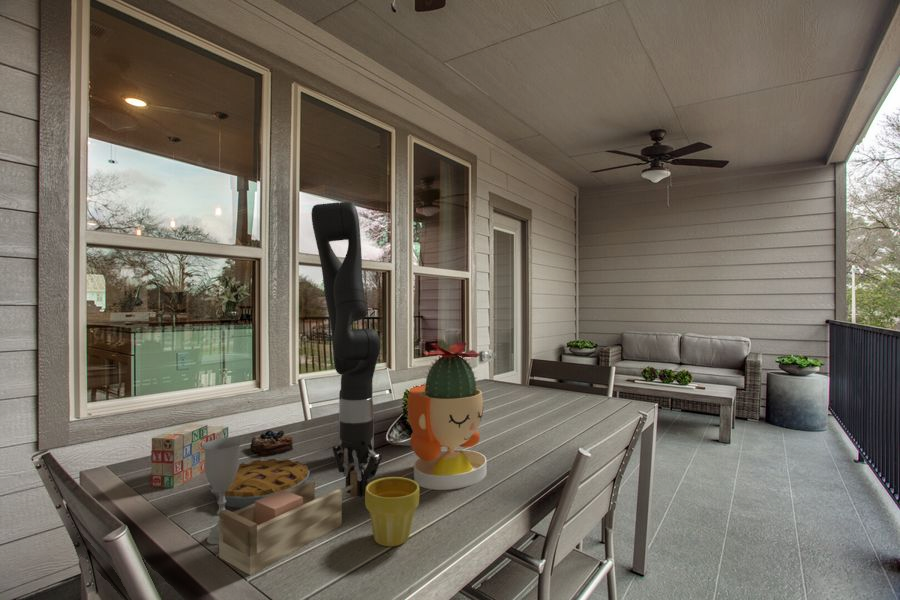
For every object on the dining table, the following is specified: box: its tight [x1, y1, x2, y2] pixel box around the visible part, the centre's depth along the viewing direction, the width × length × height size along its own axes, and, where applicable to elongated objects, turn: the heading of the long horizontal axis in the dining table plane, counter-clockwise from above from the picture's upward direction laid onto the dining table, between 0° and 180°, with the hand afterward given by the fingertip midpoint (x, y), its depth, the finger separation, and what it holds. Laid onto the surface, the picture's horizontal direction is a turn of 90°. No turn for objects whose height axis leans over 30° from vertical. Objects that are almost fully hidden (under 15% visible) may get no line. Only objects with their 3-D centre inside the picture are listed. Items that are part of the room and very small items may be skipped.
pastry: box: [249, 429, 294, 458], centre depth 137 cm, size 11×12×6 cm
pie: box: [208, 458, 311, 509], centre depth 107 cm, size 22×22×5 cm
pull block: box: [255, 470, 364, 526], centre depth 91 cm, size 24×6×6 cm, turn 146°
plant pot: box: [364, 476, 420, 547], centre depth 86 cm, size 10×10×10 cm
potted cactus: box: [407, 341, 488, 491], centre depth 119 cm, size 22×22×35 cm
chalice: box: [202, 437, 243, 545], centre depth 86 cm, size 7×7×18 cm
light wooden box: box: [218, 479, 343, 576], centre depth 84 cm, size 20×9×8 cm, turn 146°
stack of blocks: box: [150, 423, 230, 489], centre depth 119 cm, size 21×6×12 cm, turn 172°
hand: (356, 493), depth 100 cm, fingers closed on pull block, 3 cm apart
